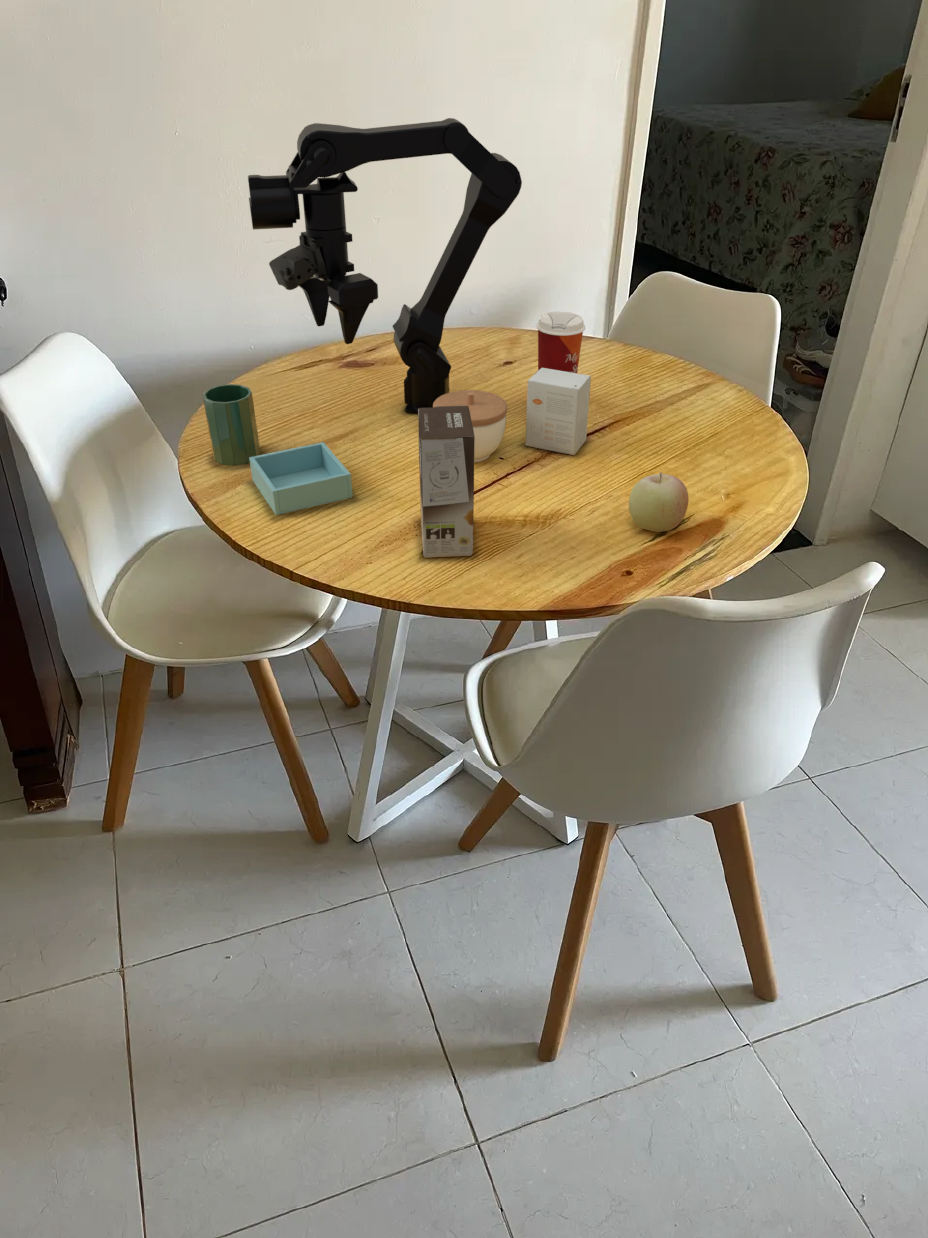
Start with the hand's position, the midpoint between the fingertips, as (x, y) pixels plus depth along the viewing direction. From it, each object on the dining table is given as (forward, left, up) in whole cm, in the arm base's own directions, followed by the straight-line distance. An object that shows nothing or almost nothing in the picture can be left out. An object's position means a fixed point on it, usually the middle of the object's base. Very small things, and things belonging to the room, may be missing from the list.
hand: (334, 334), depth 139 cm
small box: (-35, +3, -13) cm, 38 cm away
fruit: (-51, +24, -13) cm, 58 cm away
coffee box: (-25, +33, -13) cm, 43 cm away
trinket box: (-23, +9, -13) cm, 28 cm away
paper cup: (-33, -12, -13) cm, 38 cm away
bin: (-3, +25, -13) cm, 29 cm away
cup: (+10, +18, -13) cm, 24 cm away
